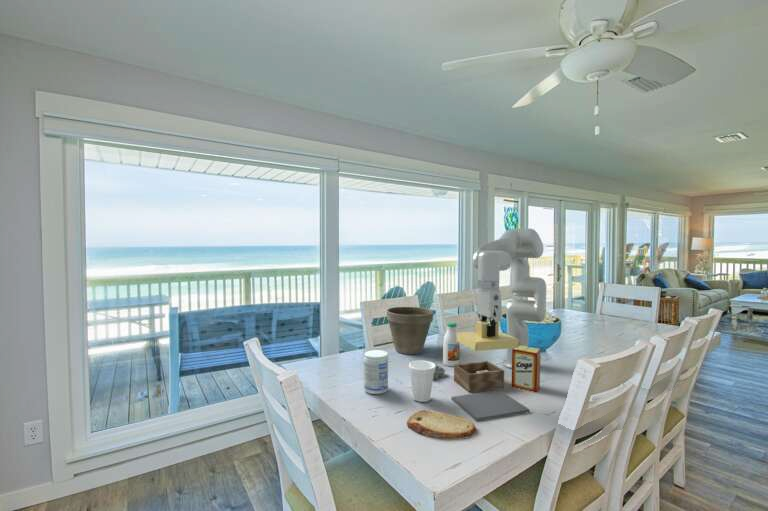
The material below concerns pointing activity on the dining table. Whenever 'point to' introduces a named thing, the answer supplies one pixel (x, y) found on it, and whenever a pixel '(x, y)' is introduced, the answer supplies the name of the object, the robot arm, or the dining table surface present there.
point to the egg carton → (438, 372)
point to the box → (478, 376)
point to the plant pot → (409, 328)
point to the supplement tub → (376, 372)
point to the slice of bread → (441, 425)
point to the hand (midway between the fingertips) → (487, 334)
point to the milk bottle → (451, 346)
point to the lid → (486, 339)
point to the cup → (422, 379)
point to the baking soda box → (526, 368)
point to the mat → (489, 405)
